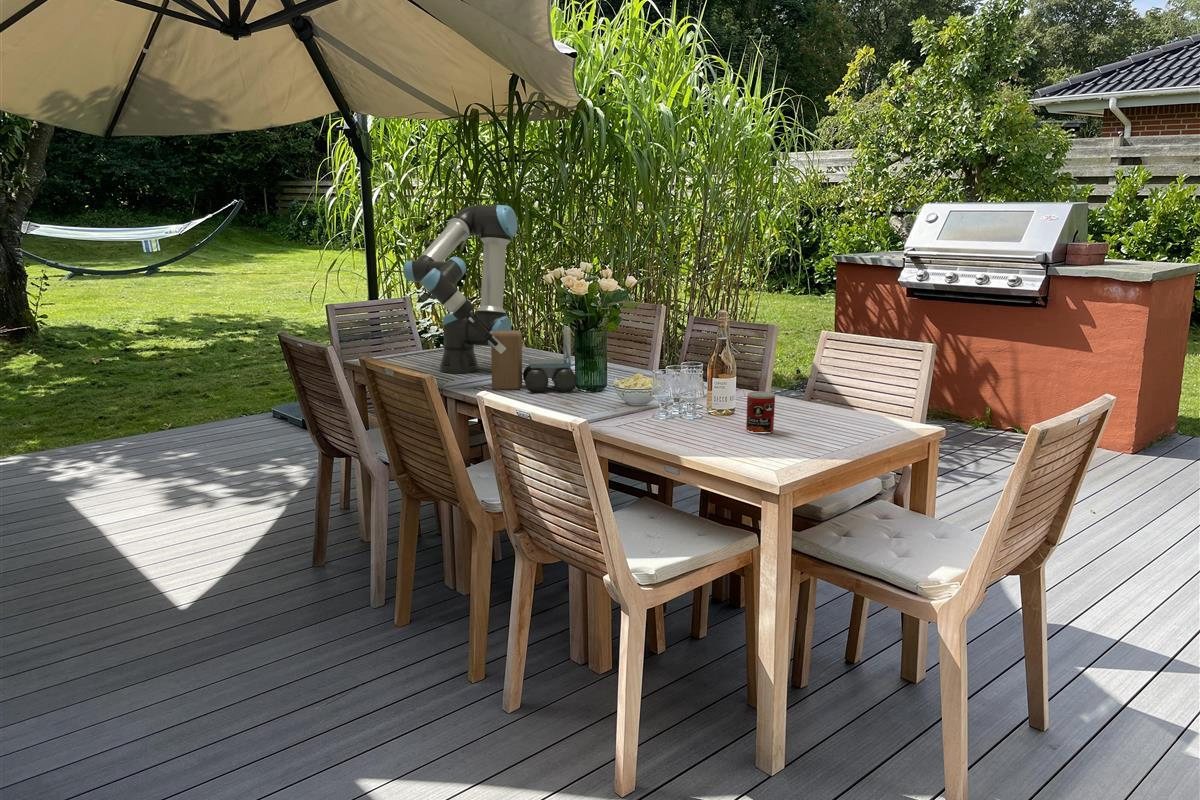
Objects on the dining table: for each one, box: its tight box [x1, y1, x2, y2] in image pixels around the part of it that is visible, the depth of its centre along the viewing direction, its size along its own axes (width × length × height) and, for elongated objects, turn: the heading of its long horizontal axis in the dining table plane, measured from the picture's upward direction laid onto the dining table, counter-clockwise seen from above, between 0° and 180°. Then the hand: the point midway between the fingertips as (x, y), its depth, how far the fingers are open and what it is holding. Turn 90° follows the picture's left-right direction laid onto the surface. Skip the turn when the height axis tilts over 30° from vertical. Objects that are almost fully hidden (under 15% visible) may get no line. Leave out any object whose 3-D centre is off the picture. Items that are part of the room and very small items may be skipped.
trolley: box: [522, 324, 578, 394], centre depth 322 cm, size 14×18×25 cm
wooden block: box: [490, 329, 523, 391], centre depth 326 cm, size 10×10×20 cm
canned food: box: [745, 390, 776, 432], centre depth 261 cm, size 8×8×11 cm
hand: (502, 348), depth 326 cm, fingers open, 13 cm apart
